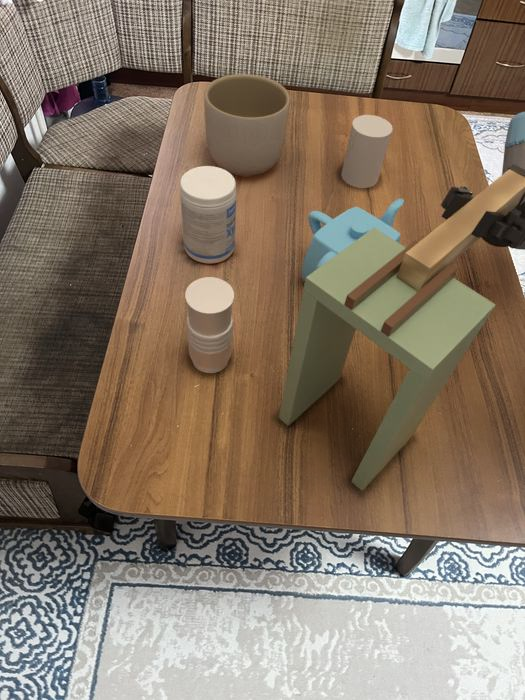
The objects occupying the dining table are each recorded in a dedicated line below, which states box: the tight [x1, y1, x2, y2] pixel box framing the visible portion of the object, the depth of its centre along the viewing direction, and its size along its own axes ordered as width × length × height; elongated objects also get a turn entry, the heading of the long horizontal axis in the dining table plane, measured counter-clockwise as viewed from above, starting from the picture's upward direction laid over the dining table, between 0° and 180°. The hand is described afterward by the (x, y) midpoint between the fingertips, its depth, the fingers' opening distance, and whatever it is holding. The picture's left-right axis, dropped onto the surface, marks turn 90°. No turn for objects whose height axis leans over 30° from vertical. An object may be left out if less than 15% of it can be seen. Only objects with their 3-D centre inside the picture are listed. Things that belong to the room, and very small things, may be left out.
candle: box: [184, 276, 235, 374], centre depth 79 cm, size 7×7×15 cm
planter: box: [203, 73, 291, 177], centre depth 111 cm, size 17×17×15 cm
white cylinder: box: [340, 114, 393, 189], centre depth 112 cm, size 8×8×12 cm
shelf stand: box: [278, 227, 496, 492], centre depth 67 cm, size 16×12×32 cm
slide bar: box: [397, 164, 525, 291], centre depth 60 cm, size 3×23×4 cm, turn 136°
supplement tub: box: [179, 165, 237, 264], centre depth 94 cm, size 10×10×15 cm
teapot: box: [301, 198, 405, 282], centre depth 93 cm, size 18×16×14 cm
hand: (466, 215), depth 56 cm, fingers closed on slide bar, 3 cm apart
